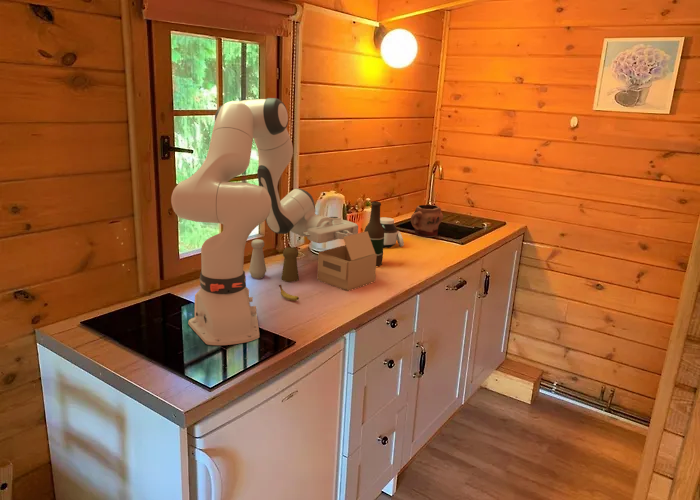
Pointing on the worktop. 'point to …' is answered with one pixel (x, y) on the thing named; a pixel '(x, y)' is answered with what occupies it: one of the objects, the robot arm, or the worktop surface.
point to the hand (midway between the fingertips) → (350, 236)
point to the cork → (290, 265)
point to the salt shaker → (257, 259)
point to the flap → (359, 245)
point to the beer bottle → (376, 232)
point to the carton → (345, 268)
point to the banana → (288, 295)
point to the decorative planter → (426, 220)
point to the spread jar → (390, 233)
